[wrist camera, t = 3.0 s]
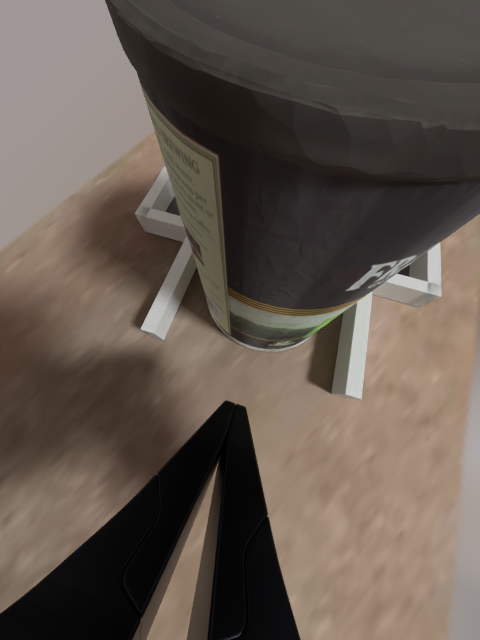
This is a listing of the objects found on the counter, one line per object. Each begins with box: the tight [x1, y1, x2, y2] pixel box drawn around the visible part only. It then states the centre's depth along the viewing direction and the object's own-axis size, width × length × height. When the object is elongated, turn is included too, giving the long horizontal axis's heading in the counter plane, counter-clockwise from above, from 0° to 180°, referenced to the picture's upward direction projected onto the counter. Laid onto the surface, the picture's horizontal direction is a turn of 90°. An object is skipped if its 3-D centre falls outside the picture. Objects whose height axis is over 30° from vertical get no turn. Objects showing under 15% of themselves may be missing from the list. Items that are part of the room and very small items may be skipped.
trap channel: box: [135, 166, 441, 399], centre depth 17 cm, size 24×25×5 cm
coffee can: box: [105, 0, 480, 352], centre depth 10 cm, size 10×10×14 cm
